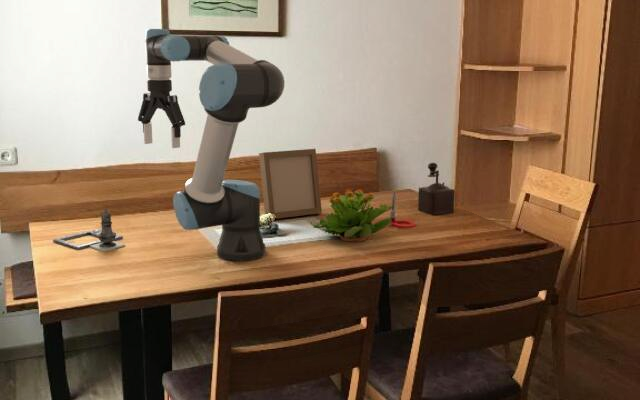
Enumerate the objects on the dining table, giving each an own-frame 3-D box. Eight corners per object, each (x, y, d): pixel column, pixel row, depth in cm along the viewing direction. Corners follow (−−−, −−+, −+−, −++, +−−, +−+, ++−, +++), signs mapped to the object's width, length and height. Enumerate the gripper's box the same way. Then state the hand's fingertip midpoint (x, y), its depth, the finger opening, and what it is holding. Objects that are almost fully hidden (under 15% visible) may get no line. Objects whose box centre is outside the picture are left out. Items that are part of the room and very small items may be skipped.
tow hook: (416, 224, 258) (392, 221, 261) (420, 190, 255) (395, 187, 258) (412, 230, 250) (386, 226, 253) (415, 195, 247) (389, 192, 250)
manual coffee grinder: (455, 213, 274) (458, 167, 270) (433, 216, 269) (435, 169, 265) (431, 204, 288) (434, 161, 284) (409, 207, 283) (411, 163, 279)
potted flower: (346, 224, 255) (347, 177, 251) (404, 235, 242) (406, 186, 238) (306, 240, 235) (306, 189, 231) (366, 253, 222) (367, 199, 218)
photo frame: (321, 215, 268) (322, 150, 262) (270, 221, 258) (270, 154, 252) (303, 207, 281) (304, 145, 275) (253, 213, 270) (253, 149, 265)
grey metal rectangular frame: (122, 238, 235) (122, 235, 234) (78, 249, 221) (77, 246, 221) (97, 231, 243) (97, 228, 243) (53, 241, 230) (53, 238, 230)
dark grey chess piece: (111, 248, 222) (109, 211, 219) (94, 247, 223) (92, 210, 220) (120, 243, 227) (118, 207, 224) (103, 242, 228) (101, 206, 226)
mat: (125, 246, 226) (125, 244, 226) (104, 251, 220) (104, 250, 220) (110, 241, 230) (110, 240, 230) (89, 247, 224) (89, 245, 224)
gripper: (124, 77, 226) (128, 143, 231) (176, 81, 211) (179, 150, 216) (143, 76, 232) (146, 140, 236) (195, 80, 217) (197, 148, 221)
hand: (162, 145), depth 226 cm, fingers open, 13 cm apart
